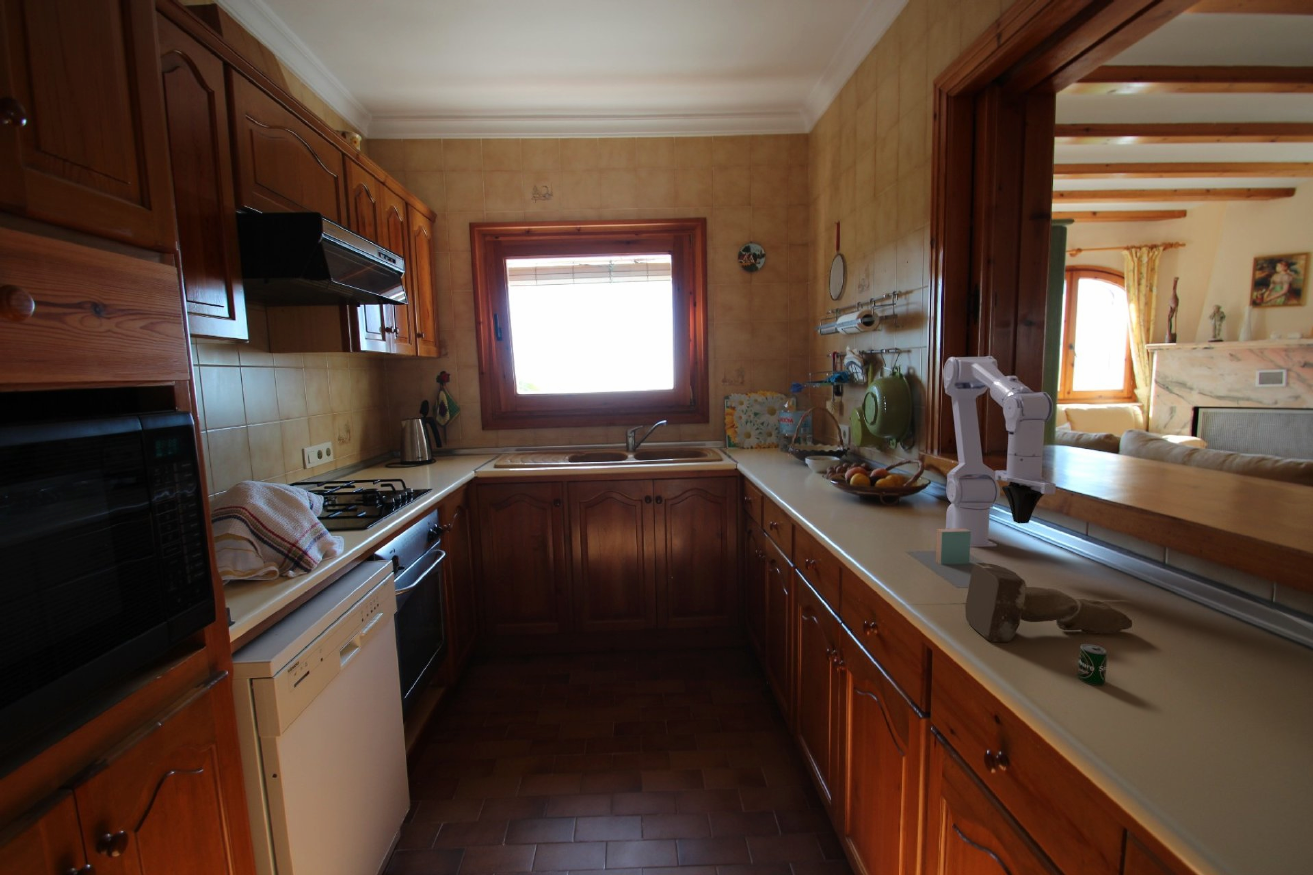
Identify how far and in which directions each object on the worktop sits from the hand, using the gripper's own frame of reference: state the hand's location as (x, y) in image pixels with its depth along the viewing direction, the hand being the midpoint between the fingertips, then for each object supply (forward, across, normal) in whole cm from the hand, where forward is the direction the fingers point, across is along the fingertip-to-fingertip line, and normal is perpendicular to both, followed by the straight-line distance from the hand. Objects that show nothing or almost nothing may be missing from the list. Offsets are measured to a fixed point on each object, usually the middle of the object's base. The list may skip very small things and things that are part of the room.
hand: (1021, 522), depth 107 cm
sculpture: (+11, +25, -12) cm, 29 cm away
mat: (+10, -3, -10) cm, 15 cm away
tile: (+10, -6, -10) cm, 15 cm away
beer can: (+11, +38, -16) cm, 43 cm away
